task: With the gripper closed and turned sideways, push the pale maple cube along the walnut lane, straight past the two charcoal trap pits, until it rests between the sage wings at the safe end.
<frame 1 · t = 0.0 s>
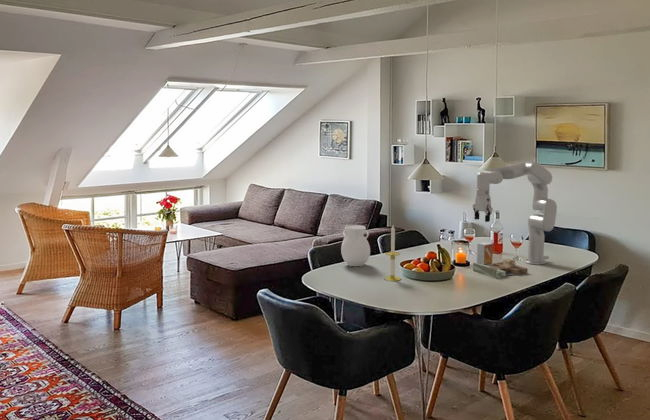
hand: (482, 220, 391), 31 cm above the table, tool pointing down, fingers open, 9 cm apart
small box: (484, 263, 415), on the table
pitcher: (355, 265, 410), on the table
maple cube: (508, 266, 394), point 3 cm above the table, touching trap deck
candle: (392, 279, 376), on the table
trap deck: (500, 272, 391), on the table
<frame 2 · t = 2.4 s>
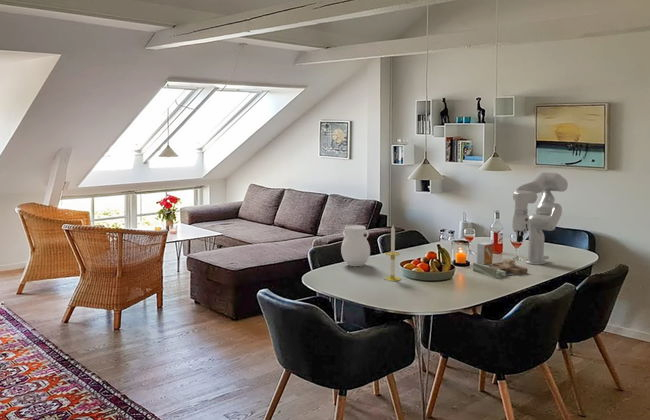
hand: (519, 241, 395), 18 cm above the table, tool pointing down, fingers closed
nothing on the table moved.
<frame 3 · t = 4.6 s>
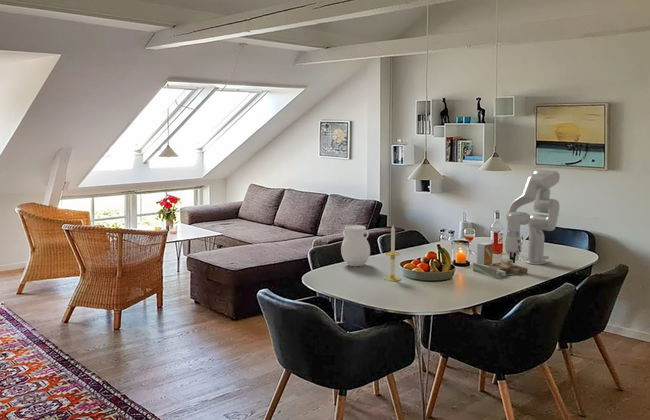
hand: (512, 263, 394), 5 cm above the table, tool pointing down, fingers closed
maple cube: (506, 266, 393), point 3 cm above the table, touching gripper, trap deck
everything else where it was.
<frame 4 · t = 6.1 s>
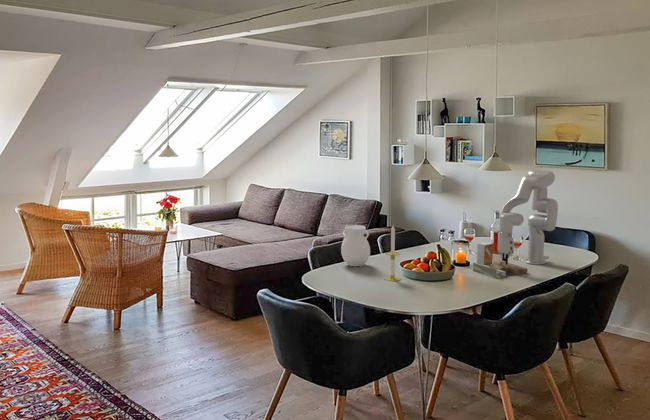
hand: (504, 264, 392), 5 cm above the table, tool pointing down, fingers closed
maple cube: (499, 267, 390), point 3 cm above the table, touching gripper
everything else where it was.
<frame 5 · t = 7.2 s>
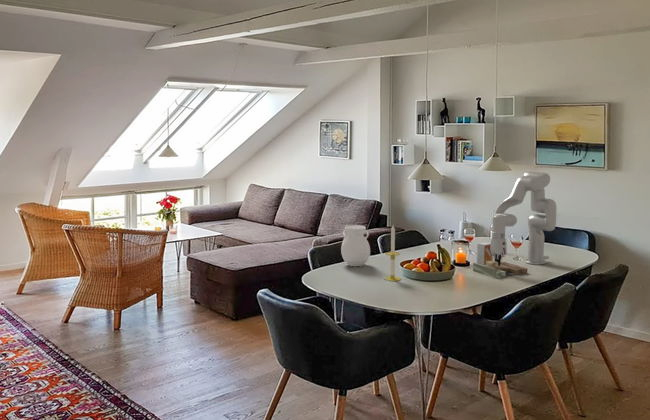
hand: (497, 265, 389), 5 cm above the table, tool pointing down, fingers closed
maple cube: (491, 268, 388), point 3 cm above the table, touching gripper
everything else where it was.
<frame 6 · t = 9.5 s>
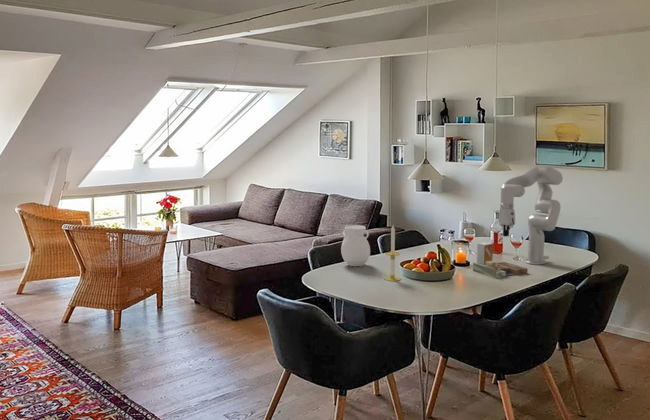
hand: (505, 236, 390), 22 cm above the table, tool pointing down, fingers closed
maple cube: (491, 268, 388), point 3 cm above the table, touching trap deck
everything else where it was.
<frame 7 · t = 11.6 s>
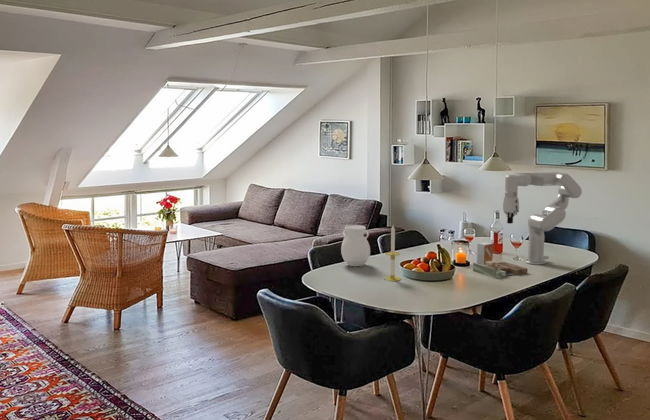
hand: (510, 223, 405), 27 cm above the table, tool pointing down, fingers closed
nothing on the table moved.
at the end: maple cube inside the target area on the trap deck (1.4 cm from its centre), point 3.0 cm above the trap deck's base; maple cube tilted 0° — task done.
